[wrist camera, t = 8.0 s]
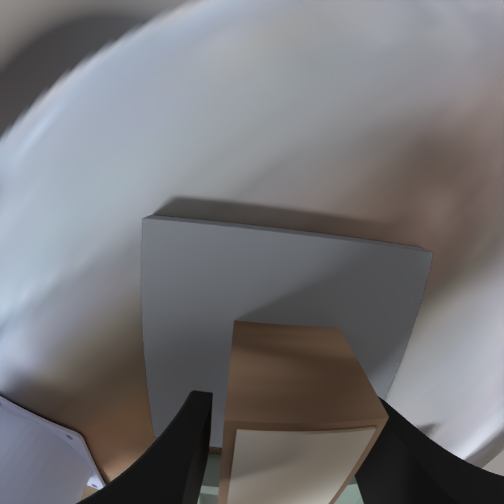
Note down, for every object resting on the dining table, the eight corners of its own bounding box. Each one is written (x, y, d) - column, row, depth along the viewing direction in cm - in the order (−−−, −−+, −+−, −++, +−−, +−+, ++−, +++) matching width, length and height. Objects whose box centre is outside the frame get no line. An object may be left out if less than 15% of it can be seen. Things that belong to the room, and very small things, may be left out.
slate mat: (158, 424, 13) (154, 436, 12) (151, 214, 11) (142, 218, 10) (355, 434, 13) (360, 446, 12) (420, 247, 11) (433, 253, 10)
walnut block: (225, 415, 12) (217, 509, 7) (234, 320, 10) (224, 422, 6) (311, 418, 12) (332, 507, 7) (339, 327, 11) (390, 419, 6)
